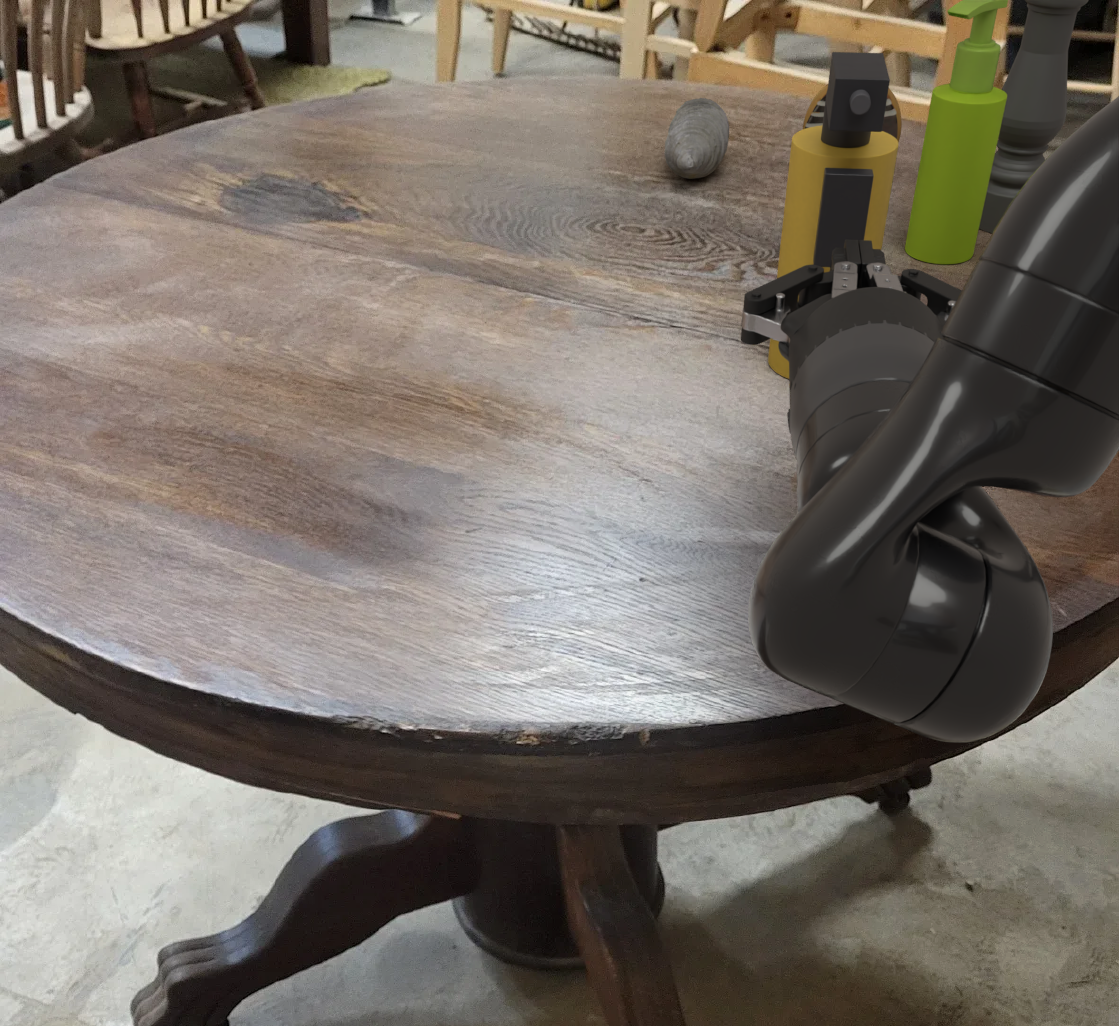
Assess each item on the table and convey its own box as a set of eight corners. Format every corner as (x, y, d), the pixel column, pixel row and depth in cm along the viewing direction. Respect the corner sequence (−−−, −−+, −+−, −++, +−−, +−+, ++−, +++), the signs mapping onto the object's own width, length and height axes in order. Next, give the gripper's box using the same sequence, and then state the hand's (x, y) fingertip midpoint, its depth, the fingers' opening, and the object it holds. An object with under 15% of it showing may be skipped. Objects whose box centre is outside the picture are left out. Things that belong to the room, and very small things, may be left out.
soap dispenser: (883, 253, 108) (926, -1, 95) (930, 233, 111) (977, -15, 98) (940, 273, 104) (992, 12, 91) (986, 252, 108) (1043, -3, 95)
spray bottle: (859, 344, 94) (908, 37, 80) (867, 413, 86) (924, 84, 72) (768, 340, 95) (800, 35, 81) (767, 407, 87) (803, 81, 73)
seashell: (651, 165, 117) (675, 75, 115) (659, 176, 130) (680, 95, 127) (715, 183, 117) (740, 93, 114) (716, 192, 130) (739, 111, 127)
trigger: (858, 261, 81) (872, 168, 77) (859, 269, 80) (874, 175, 76) (812, 259, 82) (824, 167, 78) (813, 267, 81) (825, 173, 77)
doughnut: (796, 180, 122) (808, 71, 116) (799, 167, 125) (811, 61, 118) (892, 186, 120) (910, 76, 114) (893, 173, 123) (910, 66, 117)
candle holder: (972, 207, 116) (1037, -103, 100) (1040, 214, 114) (1117, -100, 98) (967, 231, 111) (1034, -90, 95) (1038, 238, 110) (1118, -86, 94)
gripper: (1040, 333, 53) (989, 193, 66) (735, 318, 55) (743, 184, 68) (1001, 481, 58) (961, 324, 71) (722, 465, 60) (732, 314, 73)
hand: (854, 256), depth 69 cm, fingers closed
